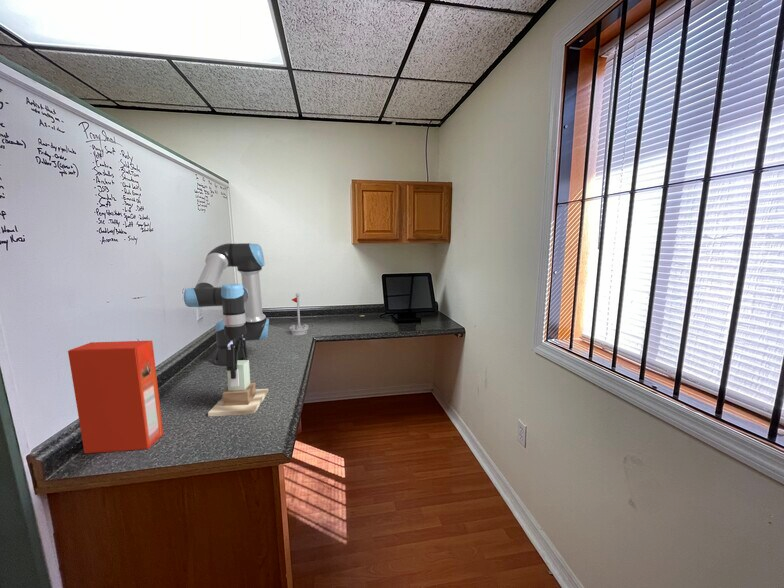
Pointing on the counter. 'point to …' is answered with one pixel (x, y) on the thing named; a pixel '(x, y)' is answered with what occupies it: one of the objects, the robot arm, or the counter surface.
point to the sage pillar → (240, 376)
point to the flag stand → (298, 329)
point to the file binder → (116, 395)
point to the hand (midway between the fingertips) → (239, 381)
